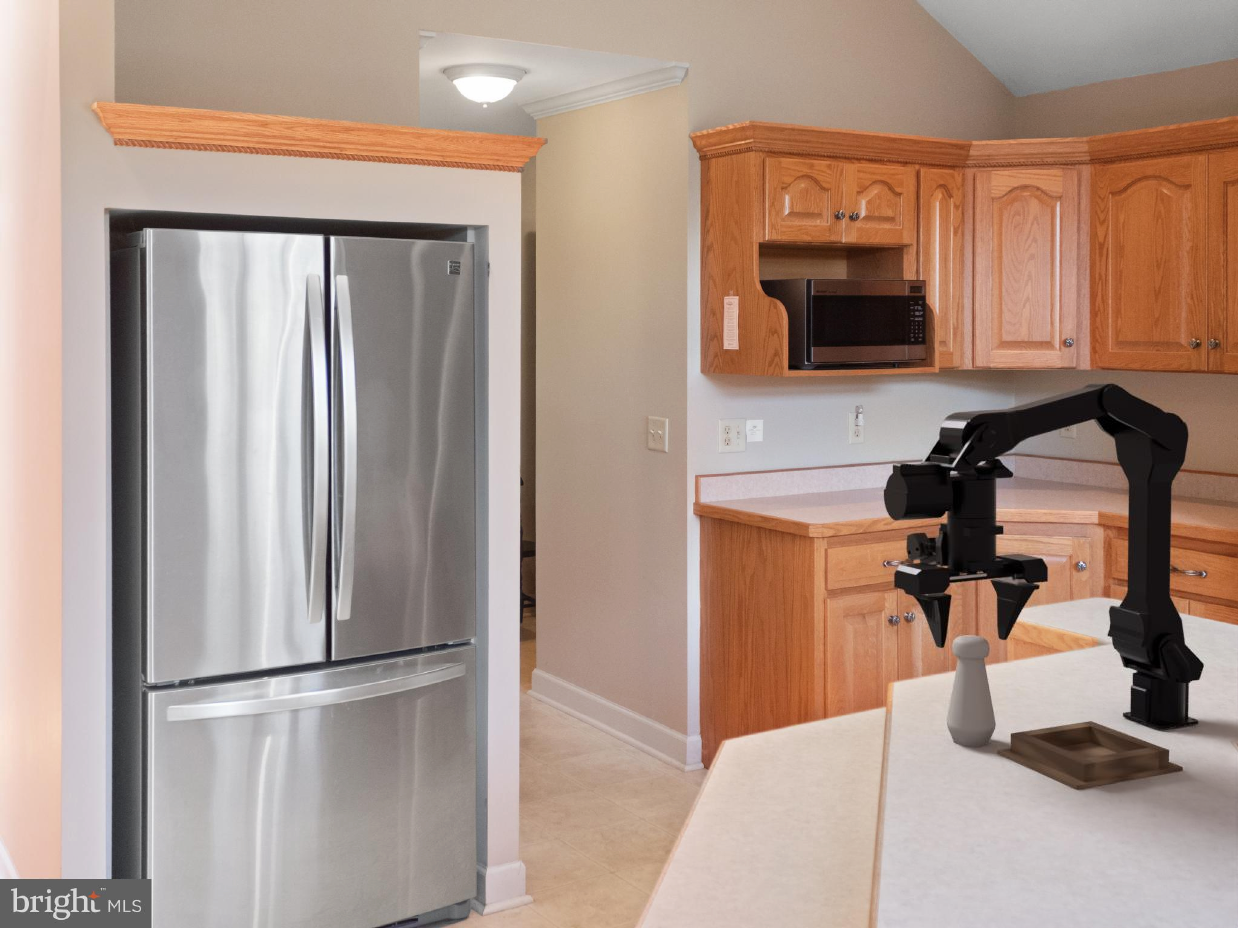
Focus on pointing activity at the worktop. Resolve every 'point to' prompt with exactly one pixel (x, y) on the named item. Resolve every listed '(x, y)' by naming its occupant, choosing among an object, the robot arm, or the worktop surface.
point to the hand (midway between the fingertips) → (971, 643)
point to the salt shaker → (971, 694)
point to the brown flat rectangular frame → (1088, 754)
